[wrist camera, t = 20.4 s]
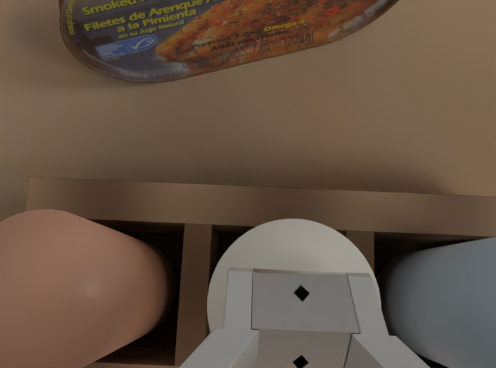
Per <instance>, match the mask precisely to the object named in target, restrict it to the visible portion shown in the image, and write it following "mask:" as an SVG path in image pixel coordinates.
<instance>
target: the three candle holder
mask: <svg viewBox="0 0 496 368" xmlns="http://www.w3.org/2000/svg"><path fill="white" fill-rule="evenodd" d="M38 209H53V210H60V211H65V212H68V213H72V214H74V215H77V216H80V217H82V218H85V219H87V220H90V221H92V222H95V223H98V224H100V225H103V226H105V227H108V228H111V229H113V230H116V231H135V232H158V233H181V234H184V242H183V255H182V269H181V283H180V297H179V310H178V324H177V338H176V349H170V348H148V347H126V346H123V347H121V348H119V349H117V350H115V351H113V352H111V353H110V354H108V355H106V356H104V357H102V358H100V359H98V360H96V361H94V362H92V363H90V364H88V365H87V366H85V367H83V368H179V367H180V366H181V365H182V364H183V363H184V362H185V361H186V359H187V358H188V357H189V356H190V355H191V354H192V353H193V352H194V351H195V350H196V349H197V347H198V346H199V345H200V344H201V343H202V342H203V341H204V340H205V339H206V338H207V336H208V335H209V334H210V328H209V323H208V316H207V297H208V291H209V285H210V282H211V279H212V275H213V273H214V271H215V268H216V266H217V252H218V235H227V236H242V235H243V234H245V233H246V232H248V231H249V230H251V229H253V228H255V227H257V226H259V225H262V224H264V223H267V222H271V221H275V220H281V219H304V220H310V221H314V222H317V223H321V224H323V225H326V226H328V227H330V228H332V229H334V230H336V231H337V232H339V233H341V234H342V235H343V236H345V237H346V238H347V239H348V240H350V241H351V242H352V243H353V244H354V245H355V246H356V247H357V248H358V249H359V251H360V252H361V253H362V254H363V256H364V257H365V259H366V260H367V262H368V264H369V265H370V267H371V269H372V271H373V273H374V242H388V243H411V244H434V245H454V244H459V243H465V242H470V241H476V240H481V239H487V238H493V237H496V197H489V196H465V195H442V194H418V193H395V192H372V191H348V190H325V189H301V188H278V187H254V186H231V185H208V184H184V183H161V182H137V181H114V180H90V179H67V178H44V177H30V178H29V185H28V192H27V198H26V205H25V212H26V211H30V210H38ZM422 361H424V362H425V363H426V364H427V365H428V366H429V367H430V368H448V367H446V366H444V365H441V364H439V363H437V362H434V361H432V360H422Z"/></svg>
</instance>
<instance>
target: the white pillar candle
mask: <svg viewBox="0 0 496 368" xmlns="http://www.w3.org/2000/svg"><path fill="white" fill-rule="evenodd" d="M229 267H235V268H248V269H252V274H253V268H257V269H272V270H287V271H313V272H342V273H345V272H348V273H369V274H370V275H371V276H372V279H373V283H374V286H375V290H376V293H377V296H378V300H379V303H380V307H381V299H380V293H379V288H378V285H377V281H376V278H375V276H374V273H373V271H372V269H371V267H370V265H369V264H368V262H367V260H366V259H365V257H364V256H363V254H362V253H361V252H360V251H359V249H358V248H357V247H356V246H355V245H354V244H353V243H352V242H351V241H350V240H348V239H347V238H346V237H345V236H343V235H342V234H341V233H339V232H337V231H336V230H334V229H332V228H330V227H328V226H326V225H323V224H321V223H317V222H314V221H310V220H304V219H281V220H275V221H271V222H267V223H264V224H262V225H259V226H257V227H255V228H253V229H251V230H249V231H248V232H246V233H245V234H243V235H242V236H241V237H239V238H238V239H237V240H236V241H235V242H234V243H233V244H232V245H231V246H230V247H229V248H228V249H227V251H226V252H225V253H224V254H223V256H222V258H221V259H220V261H219V262H218V264H217V266H216V268H215V271H214V273H213V275H212V279H211V282H210V285H209V291H208V297H207V316H208V323H209V328H210V333H211V332H212V331H213V330H214V329H215V328H222V326H223V316H224V305H225V294H226V283H227V272H228V269H229Z"/></svg>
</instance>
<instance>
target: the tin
mask: <svg viewBox="0 0 496 368" xmlns="http://www.w3.org/2000/svg"><path fill="white" fill-rule="evenodd" d="M58 1H59V7H60V31H61V35H62V38H63V41H64V43H65V44H66V46H67V48H68V49H69V51H70V52H71V53H72V54H73V55H74V56H75V57H76V58H77V59H78V60H79V61H80V62H81V63H83V64H84V65H86V66H87V67H89V68H91V69H92V70H94V71H97V72H99V73H101V74H104V75H107V76H109V77H113V78H116V79H121V80H126V81H132V82H166V81H174V80H179V79H183V78H188V77H192V76H196V75H200V74H204V73H208V72H213V71H217V70H221V69H225V68H229V67H233V66H237V65H241V64H246V63H249V62H254V61H258V60H262V59H266V58H270V57H275V56H279V55H283V54H287V53H291V52H295V51H300V50H304V49H308V48H312V47H316V46H320V45H324V44H327V43H331V42H333V41H336V40H339V39H341V38H343V37H346V36H348V35H350V34H352V33H354V32H356V31H358V30H360V29H362V28H363V27H365V26H367V25H368V24H370V23H372V22H373V21H375V20H376V19H377V18H379V17H380V16H381V15H383V14H384V13H385V12H387V11H388V10H389V9H390V8H391V7H392V6H393V5H395V4H396V3H397V2H398V1H399V0H58Z"/></svg>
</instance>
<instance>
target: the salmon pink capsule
mask: <svg viewBox="0 0 496 368" xmlns="http://www.w3.org/2000/svg"><path fill="white" fill-rule="evenodd" d="M174 296H175V277H174V273H173V270H172V267H171V265H170V263H169V261H168V260H167V258H166V257H165V256H164V255H163V254H162V252H161V251H159V250H158V249H157V248H156V247H154V246H152V245H151V244H149V243H146V242H144V241H141V240H139V239H136V238H134V237H131V236H129V235H126V234H123V233H121V232H118V231H116V230H113V229H111V228H108V227H105V226H103V225H100V224H98V223H95V222H92V221H90V220H87V219H85V218H82V217H80V216H77V215H74V214H72V213H68V212H65V211H60V210H53V209H38V210H30V211H26V212H22V213H18V214H16V215H13V216H10V217H8V218H6V219H4V220H2V221H1V222H0V368H83V367H85V366H87V365H88V364H90V363H92V362H94V361H96V360H98V359H100V358H102V357H104V356H106V355H108V354H110V353H111V352H113V351H115V350H117V349H119V348H121V347H123V346H125V345H127V344H129V343H131V342H132V341H134V340H136V339H138V338H140V337H142V336H144V335H146V334H148V333H149V332H151V331H152V330H154V329H155V328H156V327H157V326H158V325H160V324H161V323H162V321H163V320H164V319H165V318H166V316H167V314H168V313H169V311H170V309H171V307H172V304H173V301H174Z"/></svg>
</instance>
